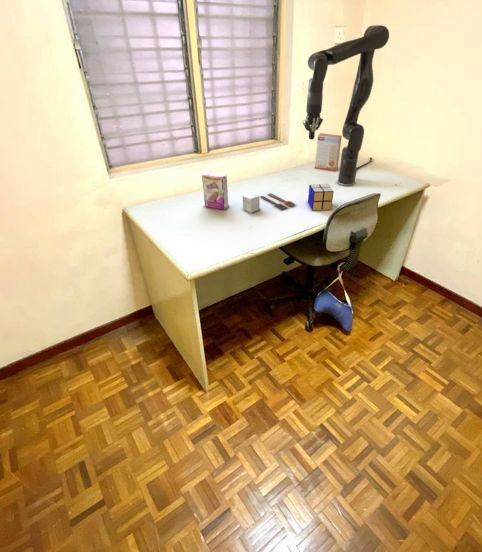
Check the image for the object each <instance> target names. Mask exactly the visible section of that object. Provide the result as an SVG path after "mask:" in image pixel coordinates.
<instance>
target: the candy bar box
mask: <svg viewBox="0 0 482 552" xmlns="http://www.w3.org/2000/svg"><path fill="white" fill-rule="evenodd" d="M201 181H202V190H203V191H202V192H203V197H204V198H203V199H204V207H206V208H212V209H216V210H222V211H225V210H227V209H228V208H229V192H228V191H229V190H228V176H227V175H226V174H220V173H214V172H207V171H205V172H204V173H203V174H201Z"/></svg>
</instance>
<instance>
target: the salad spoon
mask: <svg viewBox="0 0 482 552" xmlns="http://www.w3.org/2000/svg"><path fill="white" fill-rule="evenodd" d="M267 195H268V196H269V197H271V198H273V199H275V200H277V201H279V202H280V203H283V206H285V207H287V208H293V207H295V203H294V202H293V201H290V200H285V199H284V198H281V197H279V196H277V195H275V194H273V193H268V194H267Z"/></svg>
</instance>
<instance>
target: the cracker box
mask: <svg viewBox="0 0 482 552" xmlns="http://www.w3.org/2000/svg"><path fill="white" fill-rule="evenodd" d="M342 137H343V135H340V134H329V133H319V134H317V142H316V153H315V162H314V163H315V164H314V169H319V170H324V171H332V172H336V171H337V170H338V168H339V161H340V154H341V153H340V152H341V147H342Z"/></svg>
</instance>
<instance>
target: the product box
mask: <svg viewBox="0 0 482 552" xmlns="http://www.w3.org/2000/svg"><path fill="white" fill-rule="evenodd" d="M260 204H261V203H260V195H258V194H255V193H253V192H249V193H246V194H243V195H242V210H244V211H246V212H248V213H250V214H251V213H254V212H256V211H260V209H261V208H260V207H261V205H260Z"/></svg>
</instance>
